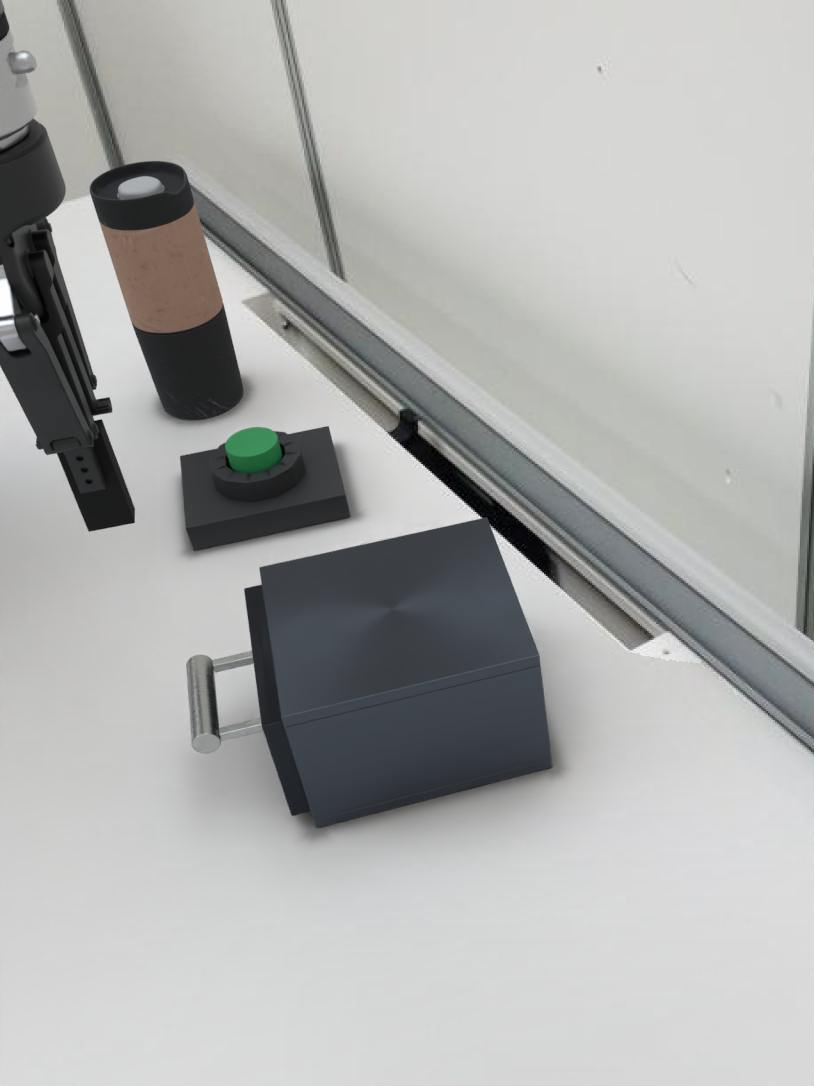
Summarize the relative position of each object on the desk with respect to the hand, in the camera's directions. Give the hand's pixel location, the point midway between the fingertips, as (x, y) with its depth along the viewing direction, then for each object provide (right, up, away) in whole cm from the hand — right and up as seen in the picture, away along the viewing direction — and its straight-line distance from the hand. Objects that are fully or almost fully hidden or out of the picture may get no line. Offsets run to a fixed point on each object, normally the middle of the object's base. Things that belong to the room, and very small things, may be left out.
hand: (111, 519), depth 77 cm
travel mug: (-6, +13, +36) cm, 39 cm away
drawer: (+14, -13, +4) cm, 19 cm away
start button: (+3, +6, +22) cm, 23 cm away
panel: (+3, +3, +24) cm, 25 cm away
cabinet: (+18, -13, +5) cm, 22 cm away
